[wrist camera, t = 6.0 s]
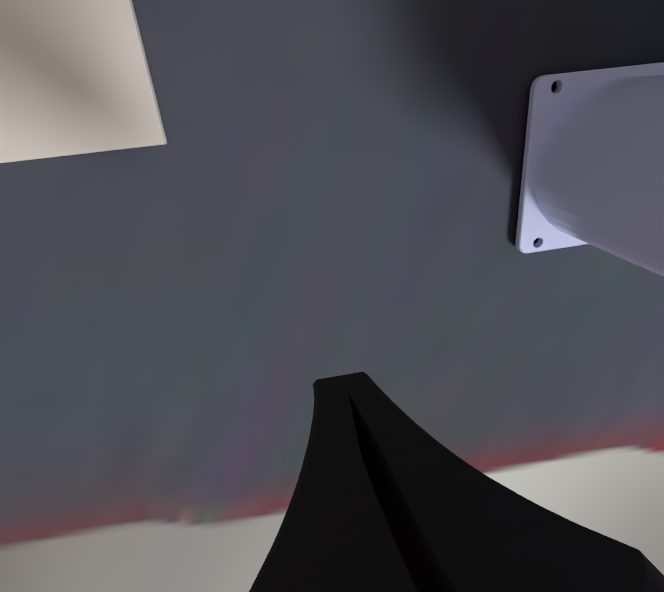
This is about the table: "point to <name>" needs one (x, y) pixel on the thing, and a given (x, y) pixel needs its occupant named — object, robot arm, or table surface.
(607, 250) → the robot arm
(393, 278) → the table surface
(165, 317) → the table surface
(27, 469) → the table surface
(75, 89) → the mat
